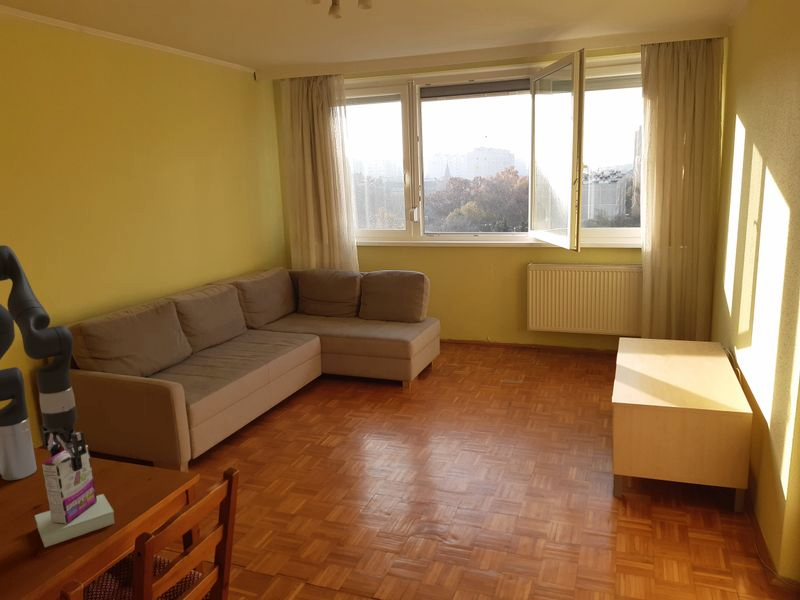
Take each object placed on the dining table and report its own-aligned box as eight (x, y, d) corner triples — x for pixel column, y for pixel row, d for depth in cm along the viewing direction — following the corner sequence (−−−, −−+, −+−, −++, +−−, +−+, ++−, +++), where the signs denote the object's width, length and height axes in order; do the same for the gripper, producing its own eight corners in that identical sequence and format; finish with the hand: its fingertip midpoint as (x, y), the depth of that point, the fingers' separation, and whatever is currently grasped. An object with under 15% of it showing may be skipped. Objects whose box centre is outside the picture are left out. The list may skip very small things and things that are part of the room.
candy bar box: (81, 500, 165) (73, 443, 162) (97, 501, 164) (89, 444, 161) (50, 523, 154) (40, 463, 151) (67, 525, 153) (57, 464, 150)
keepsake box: (44, 550, 150) (41, 535, 149) (36, 529, 159) (34, 515, 158) (115, 525, 160) (113, 511, 159) (104, 507, 169) (103, 493, 168)
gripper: (26, 406, 153) (36, 466, 156) (61, 416, 146) (70, 479, 150) (55, 396, 159) (64, 454, 163) (90, 405, 153) (98, 466, 156)
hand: (67, 466), depth 156 cm, fingers open, 8 cm apart
